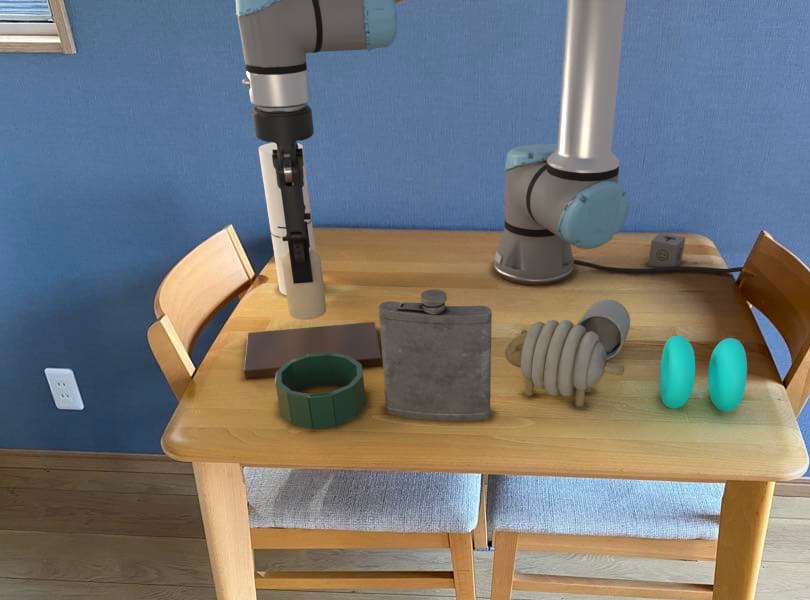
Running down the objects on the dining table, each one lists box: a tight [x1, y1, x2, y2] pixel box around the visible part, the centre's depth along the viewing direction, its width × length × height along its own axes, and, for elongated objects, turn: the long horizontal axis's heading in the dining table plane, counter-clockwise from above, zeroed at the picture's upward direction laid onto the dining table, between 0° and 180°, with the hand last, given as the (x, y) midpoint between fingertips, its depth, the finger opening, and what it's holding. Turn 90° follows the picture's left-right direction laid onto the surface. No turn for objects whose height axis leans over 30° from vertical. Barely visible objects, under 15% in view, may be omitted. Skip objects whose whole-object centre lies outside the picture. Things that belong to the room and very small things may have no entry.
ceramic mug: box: [573, 299, 631, 361], centre depth 117 cm, size 11×8×8 cm
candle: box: [282, 247, 327, 321], centre depth 111 cm, size 6×6×10 cm
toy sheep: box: [504, 319, 625, 408], centre depth 104 cm, size 11×17×11 cm, turn 72°
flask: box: [378, 288, 493, 422], centre depth 98 cm, size 4×14×18 cm, turn 84°
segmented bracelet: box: [274, 352, 367, 430], centre depth 104 cm, size 12×12×5 cm
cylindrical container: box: [258, 142, 316, 296], centre depth 130 cm, size 7×7×25 cm
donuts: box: [659, 335, 748, 413], centre depth 103 cm, size 10×10×10 cm
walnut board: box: [243, 321, 383, 380], centre depth 117 cm, size 20×12×2 cm, turn 101°
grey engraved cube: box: [647, 232, 686, 268], centre depth 146 cm, size 5×5×5 cm
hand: (303, 273), depth 110 cm, fingers closed on candle, 5 cm apart
